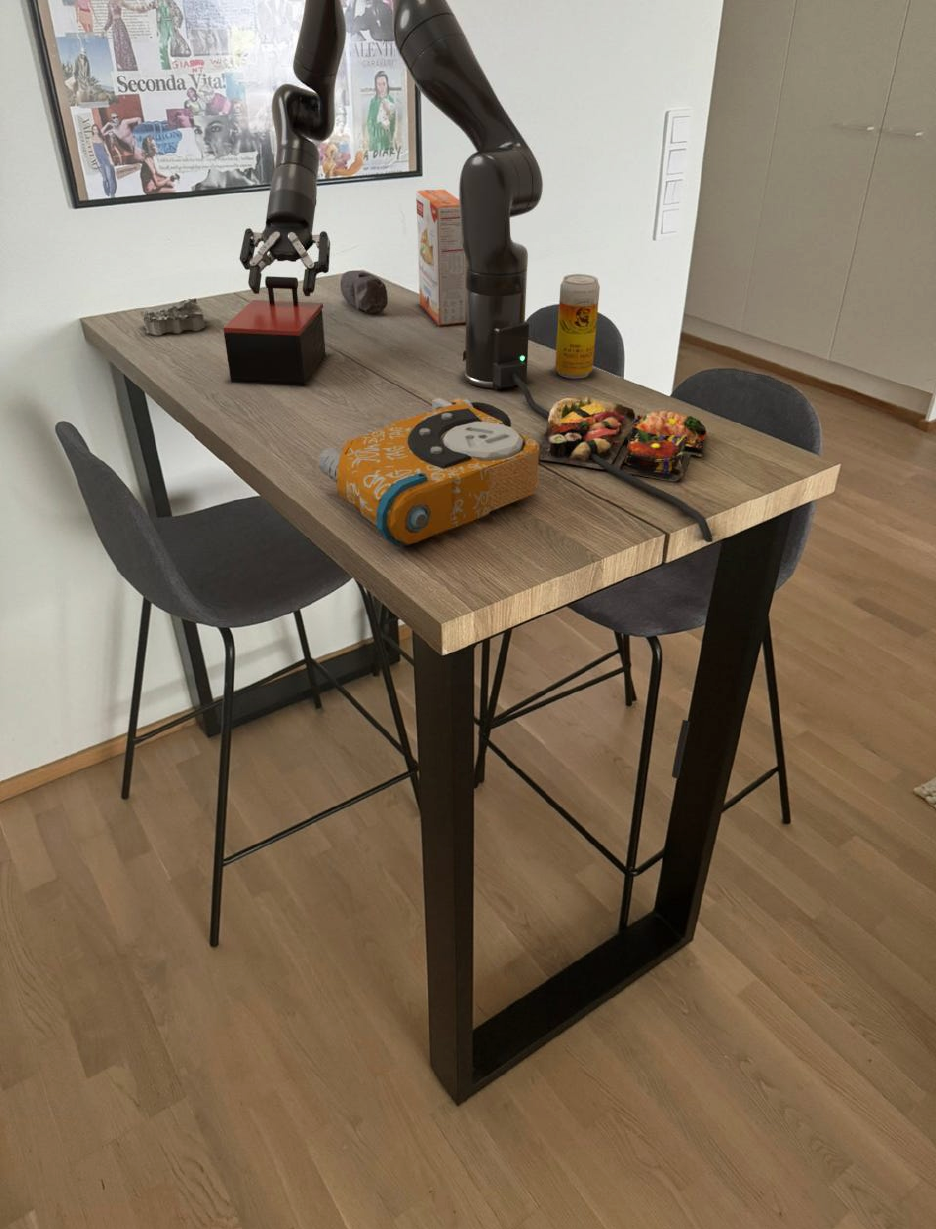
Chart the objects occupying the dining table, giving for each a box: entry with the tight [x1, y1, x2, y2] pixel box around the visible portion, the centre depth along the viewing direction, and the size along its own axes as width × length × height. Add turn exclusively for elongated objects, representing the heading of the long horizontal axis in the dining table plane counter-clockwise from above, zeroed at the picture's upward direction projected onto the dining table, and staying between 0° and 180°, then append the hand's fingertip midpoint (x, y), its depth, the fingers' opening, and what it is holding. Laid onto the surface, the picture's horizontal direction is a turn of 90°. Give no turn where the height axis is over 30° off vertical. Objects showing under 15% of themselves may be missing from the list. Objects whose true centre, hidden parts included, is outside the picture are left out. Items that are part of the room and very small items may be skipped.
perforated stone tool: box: [340, 270, 389, 314], centre depth 173 cm, size 15×5×7 cm, turn 31°
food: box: [538, 395, 707, 483], centre depth 123 cm, size 22×19×4 cm
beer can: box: [554, 273, 601, 379], centre depth 142 cm, size 6×6×15 cm
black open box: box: [223, 308, 327, 386], centre depth 145 cm, size 14×12×8 cm
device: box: [317, 397, 540, 547], centre depth 111 cm, size 23×8×30 cm
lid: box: [222, 275, 324, 336], centre depth 142 cm, size 15×12×5 cm
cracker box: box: [415, 189, 466, 327], centre depth 166 cm, size 14×6×21 cm, turn 17°
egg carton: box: [140, 297, 206, 337], centre depth 163 cm, size 11×8×4 cm
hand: (280, 292), depth 145 cm, fingers open, 8 cm apart
